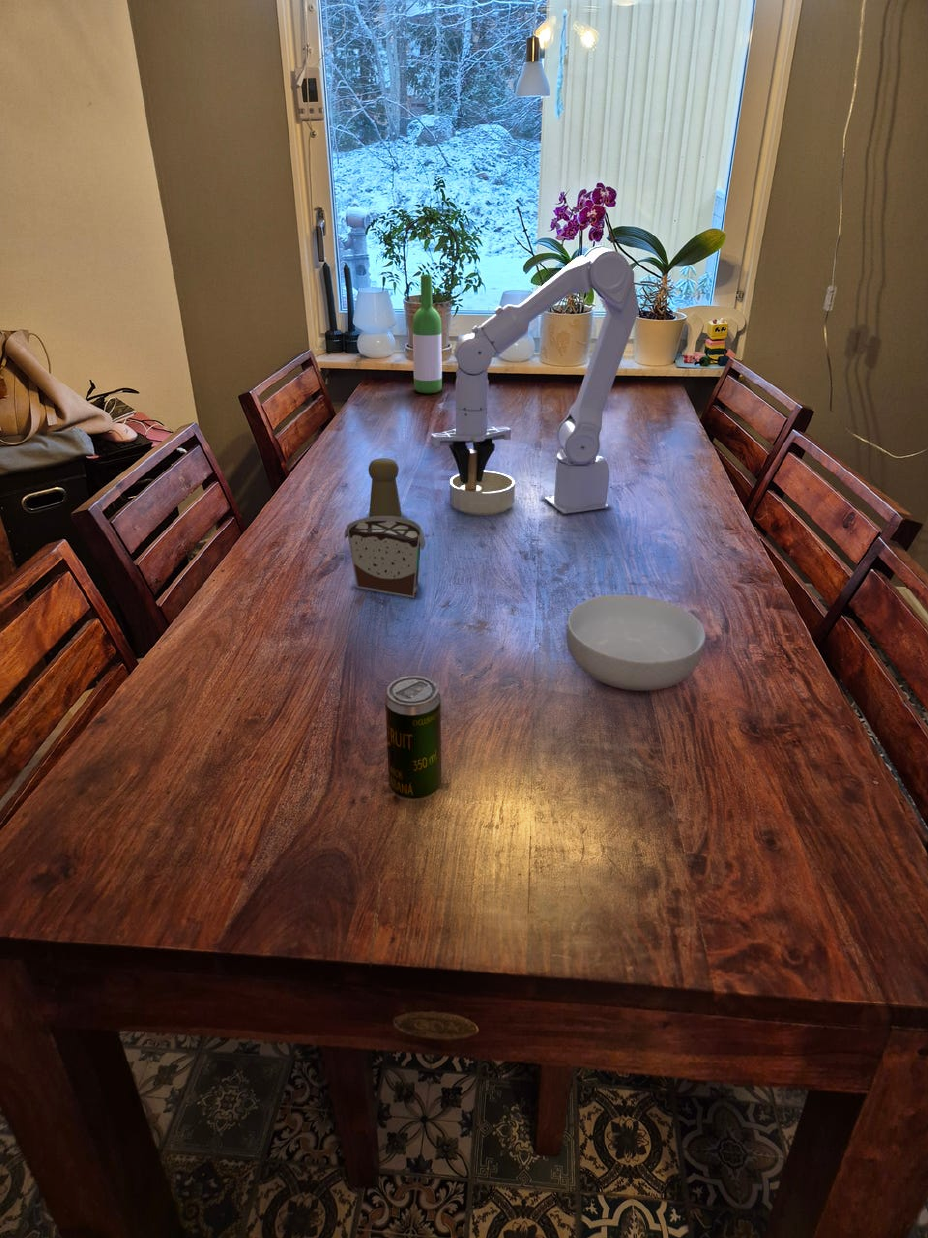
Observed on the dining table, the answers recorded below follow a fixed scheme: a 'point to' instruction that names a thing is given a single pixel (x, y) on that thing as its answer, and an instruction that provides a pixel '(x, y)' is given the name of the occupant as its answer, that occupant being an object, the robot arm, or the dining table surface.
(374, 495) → the cork
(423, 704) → the green soda can
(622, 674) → the cereal bowl
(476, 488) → the pestle
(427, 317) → the wine bottle
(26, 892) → the dining table surface
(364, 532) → the food container
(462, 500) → the beige round dish
